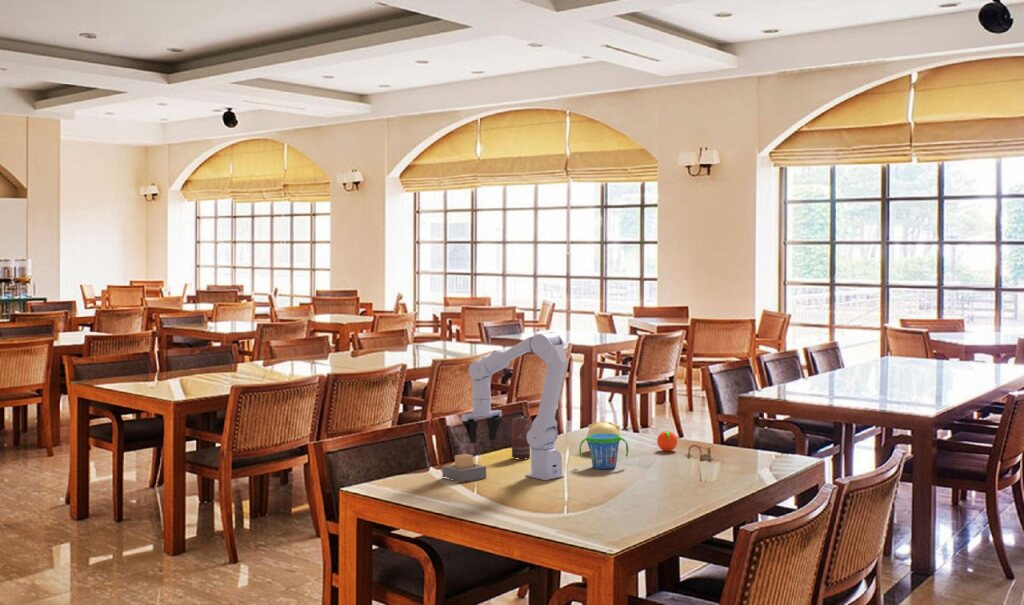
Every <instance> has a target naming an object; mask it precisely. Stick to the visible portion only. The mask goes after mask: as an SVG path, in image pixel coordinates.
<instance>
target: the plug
mask: <svg viewBox="0 0 1024 605" xmlns="http://www.w3.org/2000/svg"><path fill="white" fill-rule="evenodd" d="M454 464H455V467H456V468H460V469H465V468H471V467H473V464H474V455H472V454H468V453H461V454H455V455H454Z"/></svg>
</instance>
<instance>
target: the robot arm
mask: <svg viewBox="0 0 1024 605" xmlns="http://www.w3.org/2000/svg"><path fill="white" fill-rule="evenodd" d="M564 345H565V341H564V340H563V338H562V337H561V336H560V335H559V334H558V333H556V332H553V331H552V332H548V333H537V334H534V335H533V336H529V337H527V338H525V339H523V340H522V341H520V342H518V343H516V344H515V345H514V346H512V347H511V348H508V349H506V350H503V349H495V350H493V351H492V354H489V355H487V356H483V357H481V358H480V359H481V360H474V361H472V362H471V363H470V365H469V367H468V375H469V377H470V378H471V381H472V382H471V385H472V386H471V387H472V390H471V391H472V412H469V413H463V414H461V421H462V424H463V426H464V428H465V430H466V432H467V433H466V434H467V436H468V438H469V443H472V444H476V442H477V427H478V424H479V422H478V421H476V420H481V419H486V422H487V427H488V439H489V441H495V440H496V435H497V432H498V428H499V426H500V424H501V422H502V416H503V411H502V410H500V409H495V410H494V409H493V410H492V405H491V404H492V401H491V396H492V395H491V381H492V380H491V379H492V376H493V374H495V373H497V372H499V371H501V370H503V369H505V368H507V367H509V365H510V364H511V360H514V359H515V358H518V357H520V356H522V355H525V354H526V353H534V354H535V355H536V356H537V357H539V358H540V359H541V360H542V361H543V362H544V363H545V364H546V365H547V366H546V367H547V369H546V373H545V379H544V384H543V387H542V388H543V389H542V394H541V396H540V397H541V398H540V402H539V406H538V411H537V415H536V417H535V418H534V420H533V421H532V423H531V426H530V430H529V431H528V433H527V442H528V444H529V445H530V459H531V460H530V466H531V468H530V469H531V472H530V473H526V474H525V476H526V477H530V478H534V479H538V480H543V481H548V480H553V479H557V478H558V479H559V478H564V477H565V474H563V460H562V459H563V458H562V453H560V451H559V450H557V449H556V448H555V442H557V440H558V436H559V435H558V434H559V432H558V423H559V422H558V421H557V419H556V413H557V410H558V406H559V400H560V396H561V391H562V388H563V387H562V386H563V382H564V378H565V372H566V368H567V365H568V364H567V359H566V353H565V349H564Z"/></svg>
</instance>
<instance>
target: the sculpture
mask: <svg viewBox="0 0 1024 605" xmlns="http://www.w3.org/2000/svg"><path fill="white" fill-rule="evenodd" d="M587 427H588V431H587V435H586V437H587V436H588V435H592V434H600V433H611V434H618V435H620V436H621V433H620V428H621V426H620V425H619V424H616V423H614V422H611V421H610V422H609V421H607V420H601V421H595V422H593V423H591V424H588V425H587ZM586 443H587V444H588V442H587V441H586ZM620 443H621V440H620V441H619V444H618V448H619V447H620Z"/></svg>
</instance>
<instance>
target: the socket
mask: <svg viewBox="0 0 1024 605" xmlns="http://www.w3.org/2000/svg"><path fill="white" fill-rule="evenodd" d="M441 468H442V469H441V470H442V478H443V477H447V478H449V479H453V480H456V481H459V482H458V483H460V482H462V483H466V482H465V481H468V482H473V481H478V480H484V479H487V467H486V465H481V464H477V463H476V464H475V463H473V467H471V468H465V469H460V468H456V467H455V463H454V464H449V465H443V466H441ZM456 481H455V482H456Z"/></svg>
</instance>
